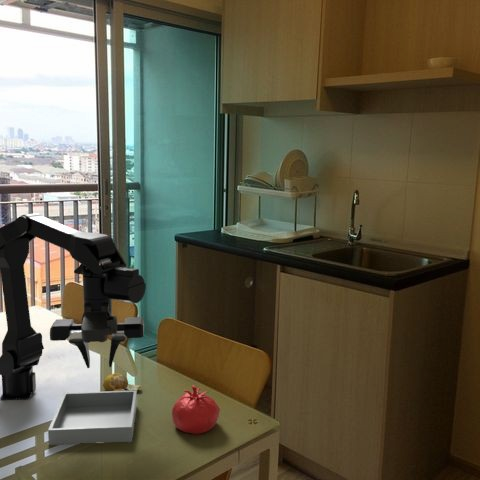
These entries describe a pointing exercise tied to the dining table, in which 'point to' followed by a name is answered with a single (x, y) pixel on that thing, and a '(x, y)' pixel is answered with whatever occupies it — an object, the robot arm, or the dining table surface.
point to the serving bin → (94, 418)
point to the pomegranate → (195, 412)
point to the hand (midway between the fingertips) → (99, 367)
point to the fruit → (118, 383)
